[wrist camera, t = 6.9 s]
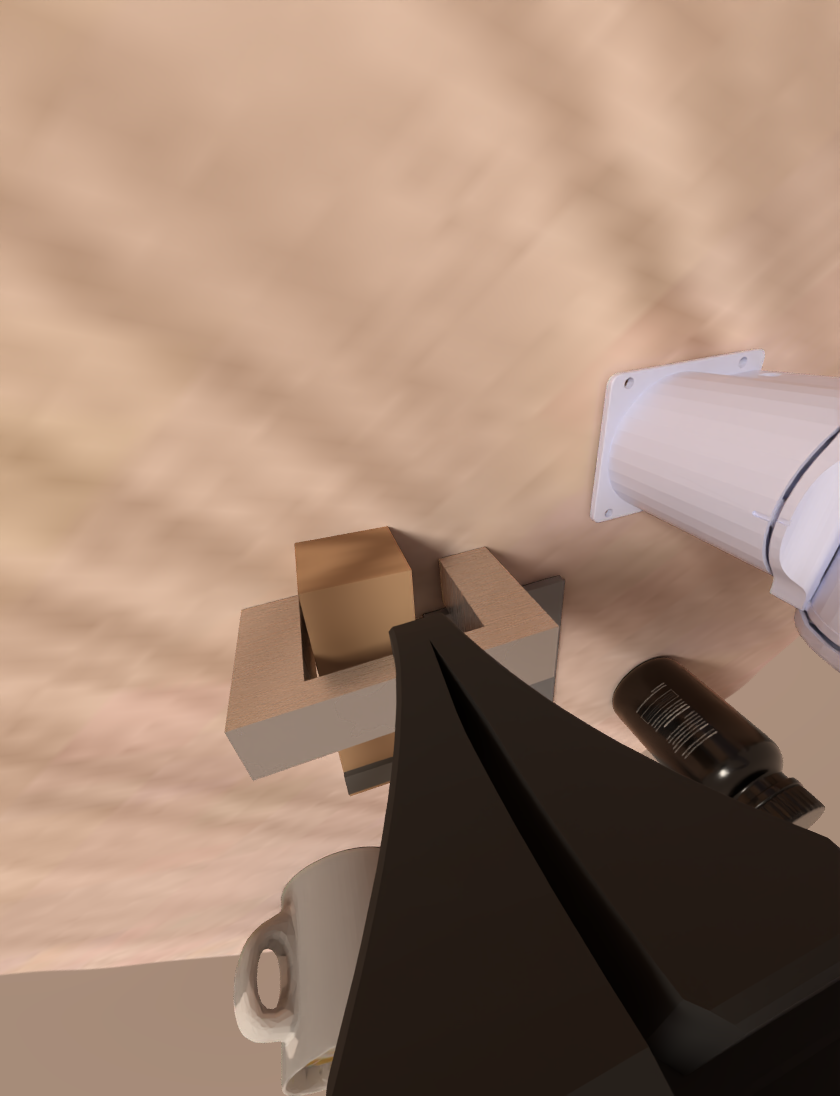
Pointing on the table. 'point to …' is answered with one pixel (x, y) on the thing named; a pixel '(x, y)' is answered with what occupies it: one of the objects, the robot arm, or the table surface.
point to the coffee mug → (308, 965)
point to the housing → (365, 668)
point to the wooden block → (355, 622)
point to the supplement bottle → (709, 740)
